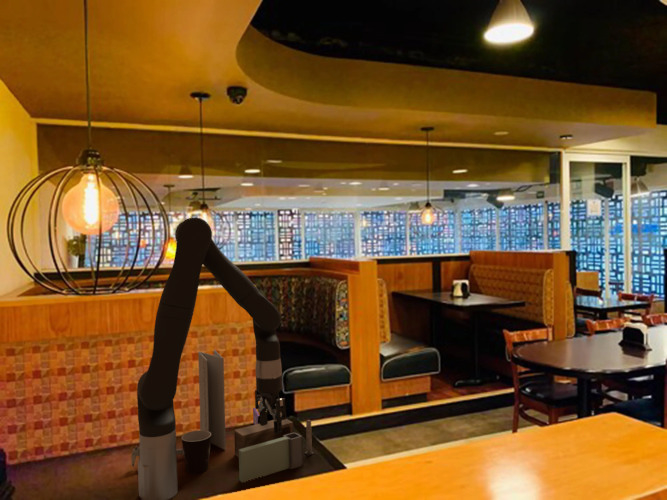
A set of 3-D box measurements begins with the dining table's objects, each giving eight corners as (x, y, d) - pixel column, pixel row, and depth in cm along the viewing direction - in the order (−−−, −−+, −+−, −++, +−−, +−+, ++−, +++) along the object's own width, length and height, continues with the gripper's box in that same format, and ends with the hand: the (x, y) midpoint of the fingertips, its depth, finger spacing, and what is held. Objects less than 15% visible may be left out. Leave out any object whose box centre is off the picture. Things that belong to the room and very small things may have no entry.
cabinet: (257, 472, 148) (256, 435, 148) (234, 455, 161) (234, 421, 160) (314, 454, 160) (313, 420, 160) (289, 439, 172) (288, 407, 172)
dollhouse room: (256, 437, 175) (255, 417, 175) (250, 425, 187) (249, 407, 187) (289, 432, 179) (289, 413, 179) (282, 421, 191) (281, 403, 191)
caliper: (132, 468, 152) (131, 447, 152) (131, 466, 153) (130, 446, 153) (200, 452, 161) (200, 433, 161) (200, 451, 162) (199, 432, 162)
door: (244, 485, 140) (243, 453, 140) (237, 479, 144) (237, 448, 144) (302, 466, 152) (302, 436, 152) (295, 461, 155) (294, 432, 155)
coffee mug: (204, 476, 146) (203, 442, 146) (176, 474, 148) (175, 440, 148) (221, 459, 158) (220, 427, 157) (195, 457, 159) (194, 426, 159)
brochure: (200, 437, 175) (198, 351, 175) (216, 435, 178) (214, 349, 177) (208, 453, 162) (206, 360, 162) (225, 449, 165) (223, 358, 164)
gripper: (246, 371, 151) (248, 425, 151) (269, 381, 139) (271, 440, 140) (268, 367, 155) (270, 419, 156) (292, 376, 144) (294, 433, 144)
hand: (270, 429), depth 148 cm, fingers open, 8 cm apart
